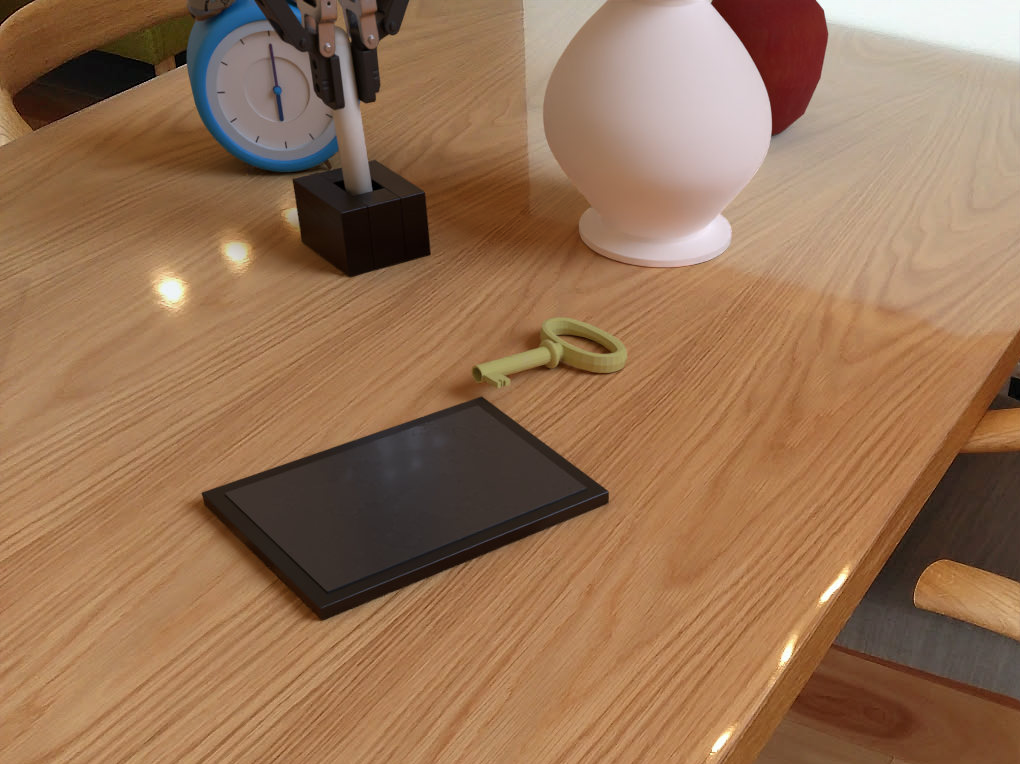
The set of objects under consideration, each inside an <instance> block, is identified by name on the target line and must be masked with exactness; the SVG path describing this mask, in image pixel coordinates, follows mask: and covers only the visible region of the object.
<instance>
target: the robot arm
mask: <svg viewBox="0 0 1020 764" xmlns="http://www.w3.org/2000/svg"><path fill="white" fill-rule="evenodd" d="M254 1H255V2H256V4H257V5H258V7H259V8H260V10H261V11H262V13H263V14H264V16H265V17H266V19H267V20H268V21H269V23H270V24H271V26H272V27H273V29H274V30H275V32H276V33H277V35H278V36H279V38H280V39H281V40H282V41H284V42H285V43H288V44H290V45H292V46H293V47H295V48H296V49H297V50H299V51H300V52H307V51H308V54H309V59H310V66H311V74H312V81H313V89H314V92H315V94H316V95H317V97H318V98H320V99H321V100H322V101H323V103H324V104H325V105H327V106H328V107H330V108H331V109H333V110H339V109H343V108H345V100H344V92H343V84H342V76H341V68H340V59H339V56H337V55H336V54H334V53H335V50H336V46H335V27H334V25H335V22H337V21H338V4H339V6H340V7H341V9H342V15H343V20H344V25H345V31H346V33H347V34H348V36H349V39H350V46H351V52H352V59H353V66H354V72H355V79H356V85H357V92H358V98H359V100H360V102H362V103H364V104H371V103H375V102H376V101H377V93H380V89H381V77H380V67H379V57H378V46H379V44H380V42H381V41H382V40H383V39H384V38H386V37H388V36H389V35H390V36H396V35H398V33H399V32H400V30H401V27H402V24H403V22H404V18H405V15H406V11H407V9H408V6H409V3H410V0H297V6H298V9H299V11H300V13H301V21H302V25H301V23H300V22H299V20H298V19H297V17H296V16H295V14H294V13H293V11H292V10H291V8H290V7H289V5H288V4H287V2H286V1H285V0H254Z"/></svg>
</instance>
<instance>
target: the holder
mask: <svg viewBox="0 0 1020 764" xmlns="http://www.w3.org/2000/svg"><path fill="white" fill-rule="evenodd" d="M368 164H369V170H370V177H371V184H372V190H373V191H371V192H367V193H363V194H359V195H355V196H353V197H352V196H351V195H350V194H348V193H347V192H346V191H345V185H344V179H343V172H342V167H338V168H334V169H333V168H332V169H329V170H325V171H321V172H316V173H311V174H308V175H303V176H299V177H293V178H292V179H291V181H292V187H293V193H294V198H295V205H296V206H295V207H296V212H297V219H298V226H299V232H300V233H299V234H300V239H301V243H303V244H304V245H305V246H307V247H308V248H309V249H310V250H311V251H313V252H314V253H316V254H317V255H319V256H320V257H321V258H323V259H324V260H325V261H327V262H328V263H330V264H331V265H332V266H333V267H335V268H337V269H338V270H339V271H340V272H342V273H343V274H344V275H346V276H347V277H349V278H351V277H355V276H358V275H361V274H366V273H369V272H373V271H377V270H380V269H383V268H387V267H391V266H395V265H398V264H401V263H402V264H403V263H404V262H409V261H413V260H417V259H420V258H424V257H427V256H430V255H432V254H431V241H430V231H429V229H430V228H429V219H428V207H427V198H426V197H427V196H426V191H424V190H423V189H421V188H420V187H419V186H418V185H415V184H414V183H412V182H411V181H409V180H408V179H407V178H404V177H403V176H402V175H400V174H399V173H397V172H396V171H394V170H392V169H391V168H389V167H387V166H386V165H384V164H383V163H382V162H380V161H378V160H377V159H372V160H368Z"/></svg>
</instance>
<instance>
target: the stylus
mask: <svg viewBox="0 0 1020 764" xmlns="http://www.w3.org/2000/svg"><path fill="white" fill-rule="evenodd" d="M334 27H335V46H336V50H335V53H334V54H336V55H337V56H339V59H340V68H341V76H342V84H343V92H344V100H345V108H343V109H339V110H333V109H332V112H333V118H334V124H335V130H336V136H337V142H338V148H339V151H338V153H339V159H340V165H341V168H342V172H343V179H344V185H345V191H346V192H347V193H348V194H350V195H351V196H352V197H353V196H355V195H359V194H363V193H367V192H371V191H373V190H372V184H371V177H370V170H369V164H368V161H369V159H368V152H367V151H368V150H367V145H366V138H365V132H364V125H363V119H362V113H361V104H360V105H359V98H358V92H357V85H356V79H355V72H354V66H353V59H352V52H351V46H350V42H351V39H350V37H349V36H348V34H347V31H346V30H345V29H344V28H342V27H340V26H338V25H335V26H334Z"/></svg>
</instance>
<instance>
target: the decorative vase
mask: <svg viewBox="0 0 1020 764" xmlns="http://www.w3.org/2000/svg"><path fill="white" fill-rule="evenodd" d="M542 119H543V121H542V122H543V130H544V131H543V132H544V135H545V139H546V142H547V144H548V147H549V150H550V152H551V153H552V156H553V157H554V159H555V160H556V162H557V163H558V165H559V167H560V168H561V170H562V171H563V172H564V173H565V175H566V176H567V178H568V179H569V180H570V181H571V183H572V184H573V185H574V186H575V188H576V189H577V190H578V192H579V193H580V194H581V195H582V196H583V197H584V199H585V200H586V201H587V203H589V205H590V207H588V208H587V209H586V210H585V211H583V213H582V214H581V216H580V217H579V221H578V233H579V236H580V238H581V240H582V242H583V243H584V244H585V245H586V246H587V247H588V248H589V249H591V250H592V251H593V252H595V253H597V254H599V255H601V256H603V257H605V258H608V259H610V260H613V261H616V262H620V263H623V264H628V265H633V266H639V267H648V268H680V267H687V266H692V265H693V266H694V265H698V264H701V263H705V262H708V261H710V260H713V259H715V258H717V257H719V256H720V255H722V254H723V253H724V252H725V251H727V249H728V248H729V246H730V245H731V243H732V234H733V232H732V231H733V230H732V226H731V223H730V222H729V221H728V219H727V218H726V217H725V215H722V212H723V211H724V210H725V209H726V208H727V207H728V206H729V205H730V204H731V203H732V202H733V201H734V199H735V198H736V197H737V196H739V194H740V193H741V192H743V191H742V190H744V189H745V187H746V186H747V185H748V184H749V183H750V181H752V179H753V178H754V177H755V175H756V174H757V172H758V171H759V169H760V168H761V166H762V165H763V163H764V161H765V159H766V157H767V154H768V152H769V148H770V145H771V139H772V135H771V131H772V116H771V107H770V101H769V97H768V94H767V90H766V88H765V85H764V82H763V80H762V78H761V76H760V74H759V71H758V69H757V68H756V66H755V64H754V62H753V60H752V58H751V57H750V55H749V53H748V52H747V50H746V48H745V47H744V45H743V44H742V42H741V41H740V39H739V38H738V37H737V35H736V34H735V33H734V31H733V30H732V29H731V27H730V26H729V25H728V24H727V22H726V21H725V20H724V19H723V18H722V16H721V15H720V14H719V13H718V12H717V10H716V9H715V8H714V7H713V6H712V5H711V1H709V0H606V1H605V2H604V3H603V4H602V5H601V6H600V7H599V8H598V9H597V10H596V11H595V12H594V13H593V14H592V15H591V16H590V17H589V18H588V20H586V22H584V24H583V25H582V26H581V27H580V28H579V30H578V31H577V32H576V33H575V34H574V36H573V37H572V38H571V40H570V41H569V43H568V44H567V46H566V47H565V48H564V50H563V52H562V53H561V55H560V57H559V58H558V60H557V62H556V64H555V65H554V68H553V69H552V72H551V74H550V76H549V79H548V82H547V84H546V89H545V92H544V99H543V108H542Z"/></svg>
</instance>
